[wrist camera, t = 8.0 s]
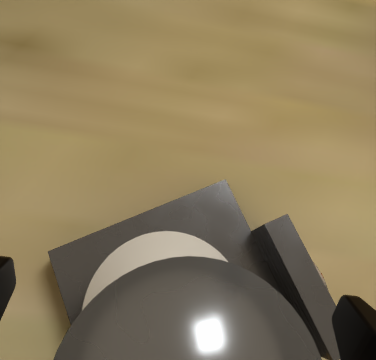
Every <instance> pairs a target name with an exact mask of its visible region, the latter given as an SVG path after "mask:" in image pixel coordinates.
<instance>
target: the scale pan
mask: <svg viewBox="0 0 376 360" xmlns="http://www.w3.org/2000/svg"><path fill="white" fill-rule="evenodd" d="M183 256H198V257H208V258H214V259H219V260H223V261H226V262H228V261H227V260H226V259H225V257H224V256H223V255H222V254H221V253H220V252H219V251H217V250H216V249H215V248H214V247H213V246H211V245H210V244H208V243H207V242H205V241H203V240H201V239H199V238H197V237H195V236H192V235H189V234H186V233H181V232H174V231H160V232H152V233H148V234H144V235H141V236H138V237H136V238H134V239H132V240H130V241H128V242H126V243H124V244H123V245H121V246H120V247H118V248H117V249H116V250H115V251H114V252H112V253H111V254H110V255H109V256H108V257H107V258H106V259H105V261H104V262H103V263H102V264H101V265H100V267H99V268H98V270H97V271H96V273H95V274H94V276H93V278H92V280H91V282H90V284H89V287H88V289H87V292H86V295H85V299H84V302H83V308H82V310H83V309H84V308H85V307H86V306H87V305H88V303H89V302H90V301H91V300H92V299H93V298H94V297H95V296H96V295H97V294H99V293H100V292H101V291H102V290H103V289H104V288H105V287H106V286H108V285H109V284H111V283H112V282H114V281H115V280H116V279H118V278H119V277H121V276H122V275H124V274H126V273H128V272H130V271H132V270H134V269H136V268H138V267H140V266H143V265H146V264H148V263H151V262H154V261H158V260H162V259H167V258H171V257H183Z"/></svg>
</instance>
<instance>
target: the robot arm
mask: <svg viewBox="0 0 376 360" xmlns="http://www.w3.org/2000/svg"><path fill="white" fill-rule="evenodd" d="M15 285H16V276H15V269H14V262H13V259H12V258H10V257H5V256H0V320H1V318H2V316H3V313H4V311H5V309H6V307H7V304H8V302H9V300H10V298H11V296H12V293H13V291H14V289H15ZM332 326H333V330H334V334H335V338H336V343H337V347H338V351H339V355H340V359H341V360H376V310H375V309H373V308H372V307H371V306H370V305H368V304H367V303H366V302H365V301H364V300H362V299H361V298H360V297H358V296H352V295H343V296H342V297H341V298H340V300H339V302H338V304H337V306H336V308H335V310H334V312H333V314H332Z"/></svg>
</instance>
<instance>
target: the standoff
mask: <svg viewBox="0 0 376 360" xmlns="http://www.w3.org/2000/svg"><path fill="white" fill-rule="evenodd" d="M54 360H322V359H321V356H320V354H319V351H318V349H317V347H316V344H315V342H314V340H313V338H312V336H311V334H310V332H309V331H308V329H307V327H306V325H305V323H304V322H303V320H302V319H301V318H300V316H299V315H298V313H297V312H296V311H295V309H294V308H293V307H292V306H291V304H290V303H289V302H288V301H287V300H286V299H285V298H284V297H283V296H282V295H281V294H280V293H279V292H278V291H277V290H276V289H275V288H273V287H272V286H271V285H270V284H269V283H267V282H266V281H265V280H263V279H262V278H260V277H258V276H257V275H255V274H254V273H252V272H250V271H248V270H246V269H244V268H242V267H240V266H238V265H235V264H232V263H229V262H226V261H223V260H219V259H214V258H208V257H198V256H183V257H171V258H167V259H162V260H158V261H154V262H151V263H148V264H146V265H143V266H140V267H138V268H136V269H134V270H132V271H130V272H128V273H126V274H124V275H122V276H121V277H119V278H118V279H116V280H115V281H114V282H112V283H111V284H109V285H108V286H106V287H105V288H104V289H103V290H102V291H101V292H100V293H99V294H97V295H96V296H95V297H94V298H93V299H92V300H91V301H90V302H89V303H88V305H87V306H86V307H85V308H84V309H83V310H82V311H81V313H80V314H79V315H78V317H77V318H76V319H75V321H74V322H73V324H72V325H71V327H70V328H69V329H68V331H67V333H66V335H65V337H64V338H63V340H62V342H61V344H60V346H59V348H58V350H57V352H56V355H55V357H54Z"/></svg>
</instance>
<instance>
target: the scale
mask: <svg viewBox="0 0 376 360" xmlns="http://www.w3.org/2000/svg"><path fill="white" fill-rule="evenodd" d="M160 231H174V232H181V233H186V234H189V235H192V236H195V237H197V238H199V239H201V240H203V241H205V242H207V243H208V244H210V245H211V246H213V247H214V248H215V249H216V250H217V251H219V252H220V253H221V254H222V255H223V256H224V257H225V259H226V260H227V261H228V262H229V263H232V264H235V265H238V266H240V267H242V268H244V269H246V270H248V271H250V272H252V273H254V274H255V275H257V276H258V277H260V278H262V279H263V280H265V281H266V282H267V283H269V284H270V285H271V286H272V287H273V288H275V289H276V290H277V291H278V292H279V293H280V294H281V295H282V296H283V297H284V298H285V299H286V300H287V301H288V302H289V303H290V304H291V306H292V307H293V308H294V309H295V311H296V312H297V313H298V315H299V316H300V318H301V319H302V320H303V322H304V323H305V325H306V327H307V329H308V331H309V332H310V334H311V336H312V338H313V340H314V342H315V344H316V347H317V349H318V351H319V354H320V356H321V357H323V358H325V359H328V360H339V359H340V355H339V351H338V347H337V343H336V338H335V334H334V330H333V326H332V314H333V312H334V310H335V308H336V305H335V303H334V301H333V299H332V297H331V296H330V294H329V291H328V288H327V285H326V283H325V280H324V277H323V275H322V273H320V271H319V269H318V268H317V266H316V265H315V264H314V262H313V261H312V260H311V258H310V256H309V254H308V252H307V250H306V248H305V246H304V244H303V242H302V241H301V239H300V237H299V235H298V233H297V231H296V229H295V227H294V225H293V224H292V222H291V220H290V218H289V216H288V214H286V215H284V216H282V217H280V218H277V219H275V220H273V221H271V222H268V223H266V224H264V225H262V226H260V227H259V228H257V229H255V230H253V231H251V230H250V228H249V226H248V224H247V222H246V220H245V218H244V216H243V214H242V212H241V210H240V208H239V206H238V204H237V202H236V200H235V198H234V196H233V193H232V191H231V189H230V187H229V185H228V183H227V181H226V179H225V180H223V181H220V182H218V183H215V184H213V185H210V186H208V187H205V188H203V189H201V190H198V191H196V192H193V193H191V194H188V195H186V196H183V197H181V198H178V199H176V200H173V201H171V202H169V203H166V204H164V205H161V206H159V207H156V208H154V209H151V210H149V211H146V212H144V213H141V214H139V215H137V216H134V217H132V218H129V219H127V220H124V221H122V222H119V223H117V224H114V225H112V226H110V227H107V228H105V229H102V230H100V231H97V232H95V233H92V234H90V235H87V236H85V237H82V238H80V239H78V240H75V241H73V242H70V243H68V244H65V245H63V246H60V247H58V248H55V249H53V250H50V251H48V254H49V257H50V260H51V263H52V267H53V270H54V273H55V276H56V279H57V282H58V286H59V289H60V292H61V295H62V298H63V301H64V304H65V308H66V311H67V314H68V317H69V320H70V323H71V325H72V324H73V322H74V321H75V319H76V318H77V317H78V315H79V314H80V313H81V311H82V308H83V302H84V299H85V295H86V292H87V289H88V287H89V284H90V282H91V280H92V278H93V276H94V274H95V273H96V271H97V270H98V268H99V267H100V265H101V264H102V263H103V262H104V261H105V259H106V258H107V257H108V256H109V255H110V254H111V253H112V252H114V251H115V250H116V249H117V248H118V247H120V246H121V245H123V244H124V243H126V242H128V241H130V240H132V239H134V238H136V237H138V236H141V235H144V234H148V233H152V232H160Z"/></svg>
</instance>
